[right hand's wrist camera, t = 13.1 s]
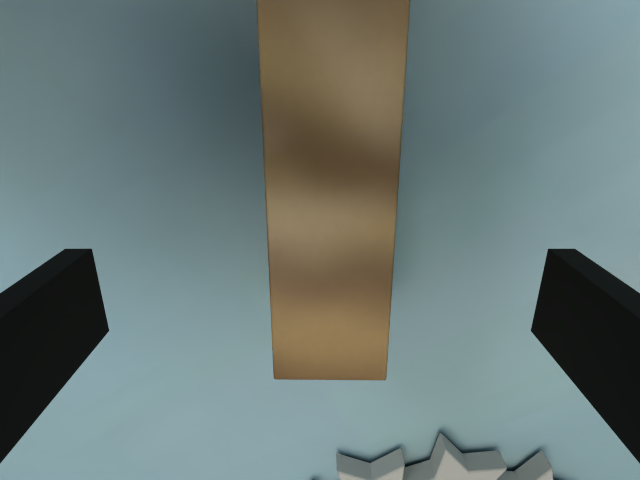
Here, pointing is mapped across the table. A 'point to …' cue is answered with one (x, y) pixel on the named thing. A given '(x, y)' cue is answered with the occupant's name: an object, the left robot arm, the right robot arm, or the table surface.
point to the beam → (331, 180)
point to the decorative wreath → (444, 466)
